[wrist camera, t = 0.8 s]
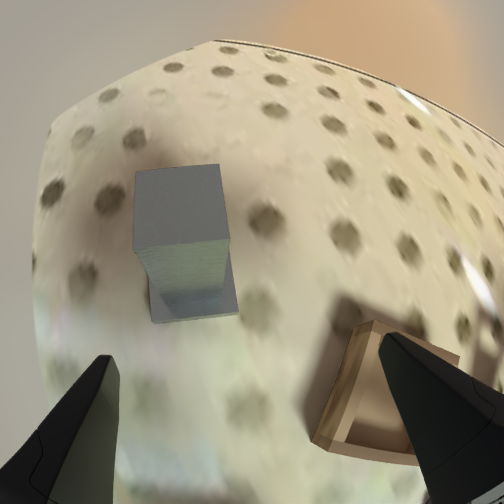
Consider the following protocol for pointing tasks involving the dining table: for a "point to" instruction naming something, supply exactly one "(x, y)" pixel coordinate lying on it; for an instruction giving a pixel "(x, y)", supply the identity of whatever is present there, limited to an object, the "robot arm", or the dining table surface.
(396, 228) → the dining table surface
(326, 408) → the well
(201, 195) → the bracket post
